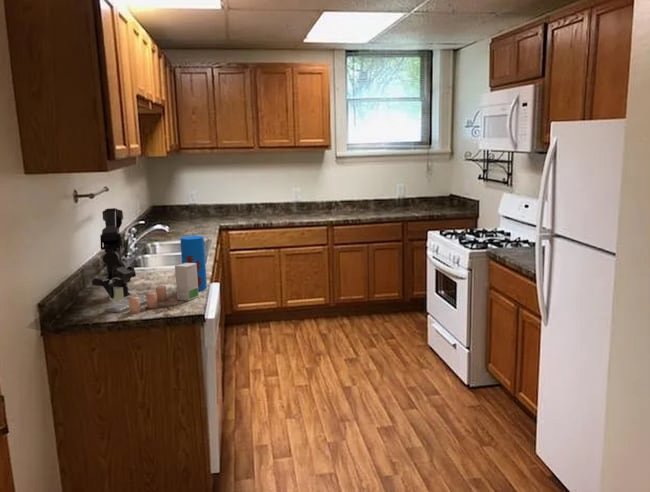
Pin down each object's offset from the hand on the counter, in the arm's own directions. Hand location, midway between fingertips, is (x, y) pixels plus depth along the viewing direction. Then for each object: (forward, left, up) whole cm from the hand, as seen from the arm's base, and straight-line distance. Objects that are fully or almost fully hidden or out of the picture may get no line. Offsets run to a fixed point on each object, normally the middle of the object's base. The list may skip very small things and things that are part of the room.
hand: (116, 297), depth 229 cm
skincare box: (+17, +25, -6) cm, 31 cm away
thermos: (+10, +39, -6) cm, 41 cm away
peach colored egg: (+10, 0, -5) cm, 11 cm away
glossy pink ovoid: (+8, +18, -5) cm, 20 cm away
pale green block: (0, 0, -1) cm, 1 cm away
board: (+1, +6, -5) cm, 8 cm away
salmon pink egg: (+12, +8, -5) cm, 15 cm away
